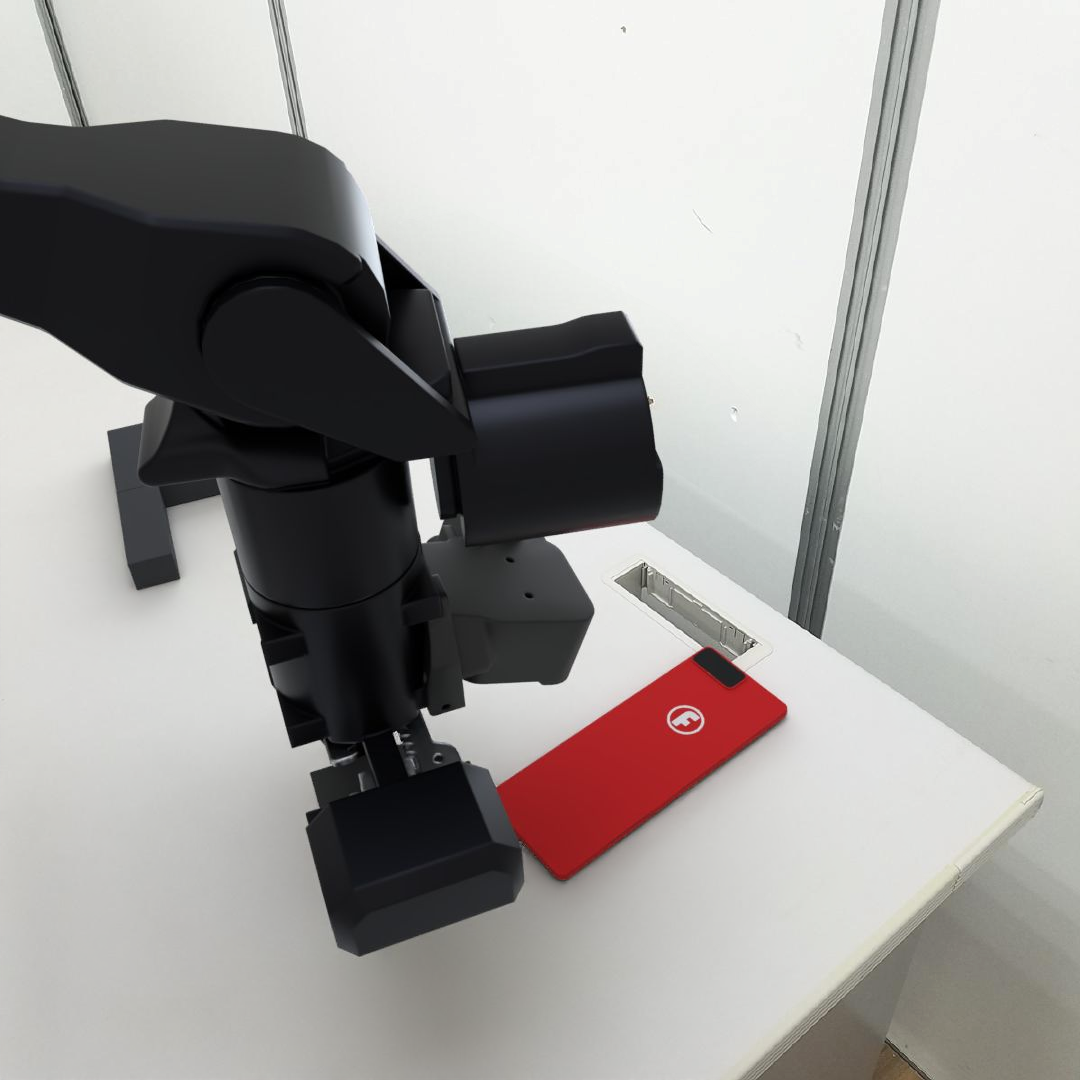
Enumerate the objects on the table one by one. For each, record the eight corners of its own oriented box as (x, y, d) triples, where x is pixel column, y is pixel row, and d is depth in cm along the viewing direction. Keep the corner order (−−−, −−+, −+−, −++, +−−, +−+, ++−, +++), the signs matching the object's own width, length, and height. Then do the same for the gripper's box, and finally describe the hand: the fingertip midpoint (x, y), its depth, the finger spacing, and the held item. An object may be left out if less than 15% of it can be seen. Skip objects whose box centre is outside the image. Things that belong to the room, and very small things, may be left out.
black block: (348, 912, 45) (336, 871, 43) (321, 814, 49) (309, 771, 47) (467, 871, 47) (462, 829, 45) (432, 778, 50) (425, 735, 48)
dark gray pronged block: (136, 590, 66) (127, 564, 65) (115, 454, 76) (106, 430, 75) (339, 537, 69) (334, 511, 68) (293, 413, 79) (287, 389, 78)
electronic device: (561, 885, 51) (790, 714, 57) (561, 878, 50) (791, 707, 57) (483, 801, 54) (707, 649, 61) (482, 794, 54) (708, 642, 61)
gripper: (685, 678, 32) (663, 958, 42) (477, 350, 45) (499, 624, 56) (293, 802, 29) (372, 1069, 40) (194, 415, 43) (273, 690, 53)
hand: (389, 828), depth 47 cm, fingers closed on black block, 5 cm apart
